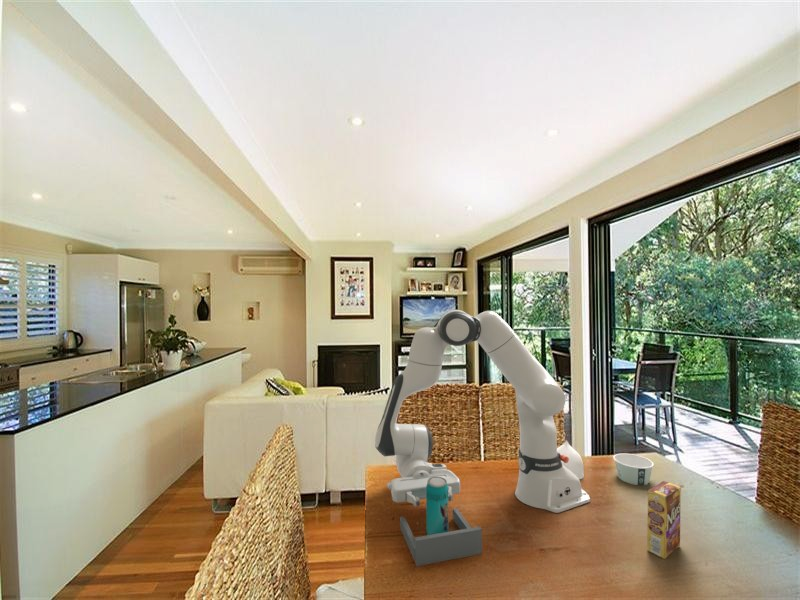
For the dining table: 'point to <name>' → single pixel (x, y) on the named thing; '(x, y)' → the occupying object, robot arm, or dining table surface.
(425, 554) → the lane rack
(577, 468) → the teardrop
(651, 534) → the candy box
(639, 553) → the dining table surface
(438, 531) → the beverage can
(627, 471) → the food container
